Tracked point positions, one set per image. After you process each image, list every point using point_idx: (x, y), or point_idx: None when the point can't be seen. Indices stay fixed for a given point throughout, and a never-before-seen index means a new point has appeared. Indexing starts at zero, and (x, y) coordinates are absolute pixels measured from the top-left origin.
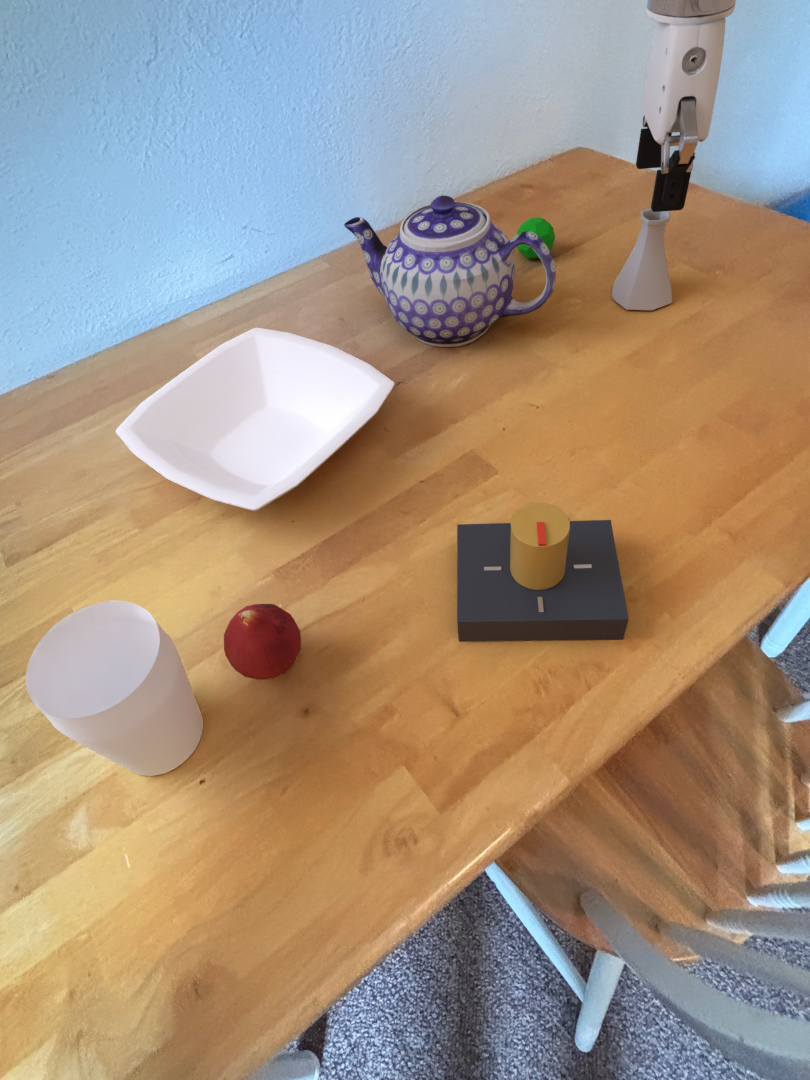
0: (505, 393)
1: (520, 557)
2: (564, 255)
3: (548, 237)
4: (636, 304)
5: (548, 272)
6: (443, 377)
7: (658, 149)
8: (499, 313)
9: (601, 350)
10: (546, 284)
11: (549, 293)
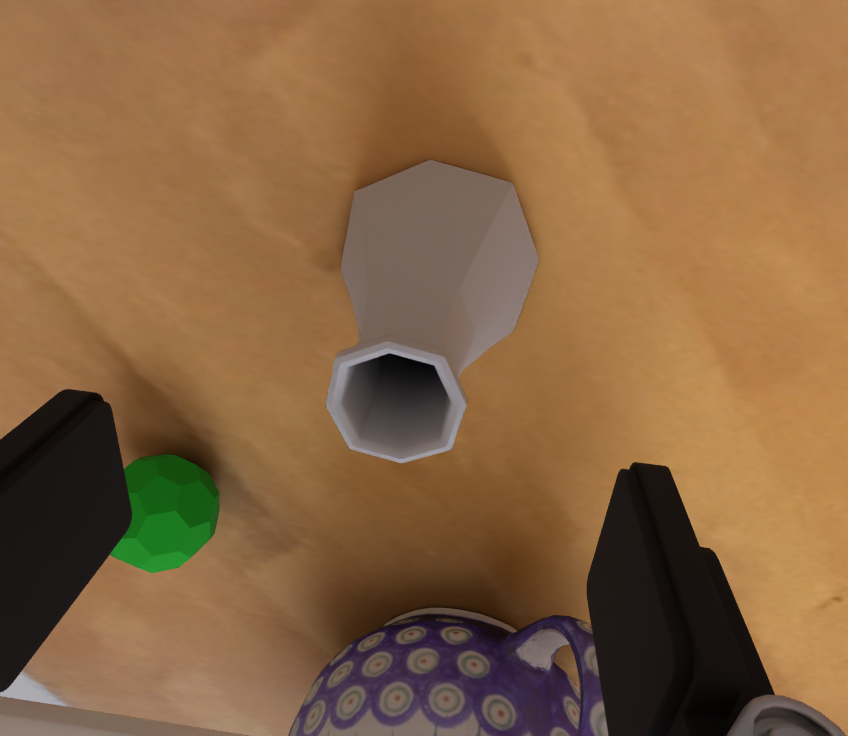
0: (755, 636)
1: None
2: (183, 408)
3: (183, 504)
4: (518, 310)
5: None
6: None
7: (54, 515)
8: (567, 684)
9: (678, 432)
10: None
11: None
